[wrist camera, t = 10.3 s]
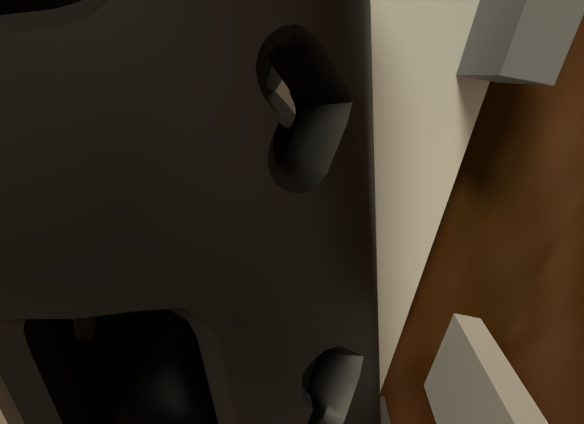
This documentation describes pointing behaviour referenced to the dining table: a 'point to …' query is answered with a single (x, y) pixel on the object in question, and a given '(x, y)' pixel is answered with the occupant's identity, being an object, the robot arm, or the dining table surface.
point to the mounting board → (440, 117)
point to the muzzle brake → (187, 213)
